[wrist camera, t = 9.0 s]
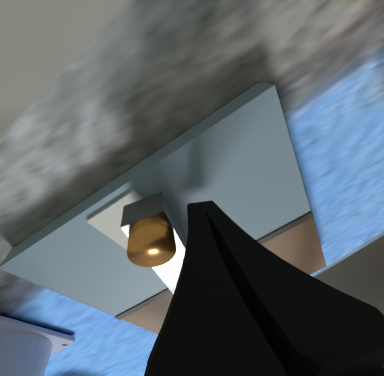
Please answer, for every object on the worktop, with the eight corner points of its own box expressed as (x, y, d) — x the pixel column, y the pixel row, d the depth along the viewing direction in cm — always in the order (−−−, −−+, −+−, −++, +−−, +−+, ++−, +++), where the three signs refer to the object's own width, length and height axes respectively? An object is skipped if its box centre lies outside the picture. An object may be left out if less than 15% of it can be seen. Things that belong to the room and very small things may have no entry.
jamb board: (172, 325, 23) (173, 341, 21) (117, 298, 18) (114, 317, 17) (315, 253, 20) (327, 267, 19) (297, 198, 15) (311, 212, 14)
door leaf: (117, 298, 18) (114, 319, 16) (12, 248, 13) (-5, 271, 11) (297, 198, 15) (312, 213, 14) (259, 81, 10) (277, 85, 9)
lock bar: (212, 279, 16) (225, 323, 13) (185, 290, 16) (192, 335, 13) (164, 182, 10) (170, 226, 7) (121, 199, 10) (112, 247, 7)
